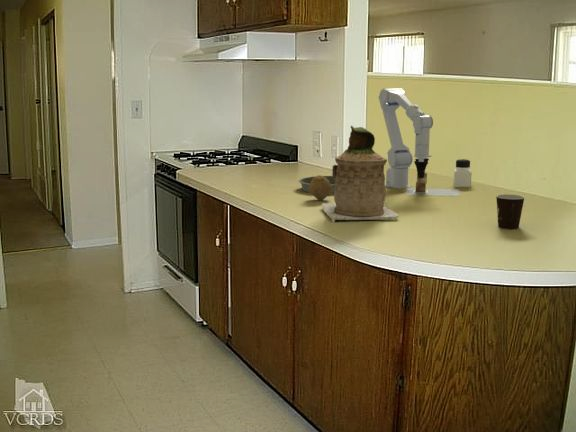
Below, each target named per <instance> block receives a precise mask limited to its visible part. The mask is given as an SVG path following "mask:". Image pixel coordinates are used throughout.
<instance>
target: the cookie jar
mask: <svg viewBox="0 0 576 432" xmlns="http://www.w3.org/2000/svg"><path fill="white" fill-rule="evenodd" d="M350 129H351V131H350V133H349V134H350V136H349V138H348V146H347V149H345V150H344V151H343V153H341V154H340V156H339V155H338V156H335V159H334V160H335V161H334V162H335V163H336V164H333V165H332V174H331V176H332V177H333V179H334V180H335V191H334V197H333V199H334V203H325V202H324V203H321V205H322V210H323V212H324V213H325V214H326V215H327V216H328V217H329V218H330V219H331V221H332V223H335V221H337V220H338V221H363V220H365V221H367V220H369V221H370V220H371V221H374V220H375V221H379V220H380V221H396V220H397V219H398V218H399V214H398V213H396V212H395V211H394V210H392V209H389V208H388V207H387V206H386V204H385V200H386V199H385V198H386V195H387V189H386V186H385V185H386V176H385V175H386V174H385V171H384V170H385V165H386V163H387V162H388V158H386V157H383V156H382V155H381V154H379V153H378V152H376V151H374V149H373V148H374V146H375V144H376V141H375V140H376V138H375V136H374V134H373V133H372V132H370V131H369V130H368V129H366V128H365V127H363V126H359V127H354V126H353V125H350Z"/></svg>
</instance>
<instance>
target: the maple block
mask: <svg viewBox="0 0 576 432" xmlns="http://www.w3.org/2000/svg"><path fill="white" fill-rule="evenodd" d="M416 182H417V183H426V184H427V183H428V172H426V171H425V174H424V178H418V174H417V173H416Z"/></svg>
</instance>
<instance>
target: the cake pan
mask: <svg viewBox="0 0 576 432" xmlns="http://www.w3.org/2000/svg"><path fill="white" fill-rule="evenodd" d="M316 176H317V175H316ZM316 176H314V175H313V176H308V177H302V178H299V180H298V183H300V184H301V188H302V189H301V190H303V192H306V193H310V194H311V192H310V190H309V186H310V183H311V181H312V179H313V178H314V177H316ZM323 176H324V177H326V178H327V179H328V180H329V182H330V184H331V187H332V193H331V195H333V193H334V191H335V180H334V179H333V177H332V175H323Z"/></svg>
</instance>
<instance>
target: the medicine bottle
mask: <svg viewBox="0 0 576 432" xmlns="http://www.w3.org/2000/svg"><path fill="white" fill-rule="evenodd" d="M470 168H471V160H469V159H466V158H464V159H463V158H460V159H456V161H455V168H454V170H453V187H454V188H456V187H457V188H471V186H472V171H471V169H470Z"/></svg>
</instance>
